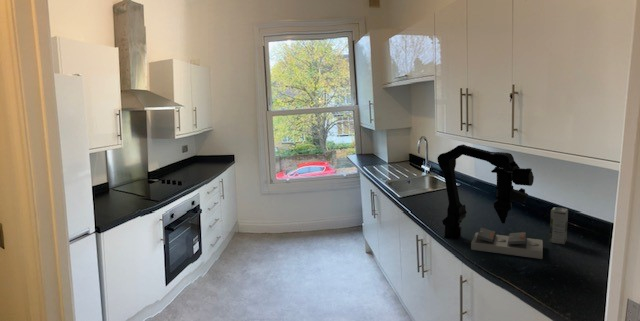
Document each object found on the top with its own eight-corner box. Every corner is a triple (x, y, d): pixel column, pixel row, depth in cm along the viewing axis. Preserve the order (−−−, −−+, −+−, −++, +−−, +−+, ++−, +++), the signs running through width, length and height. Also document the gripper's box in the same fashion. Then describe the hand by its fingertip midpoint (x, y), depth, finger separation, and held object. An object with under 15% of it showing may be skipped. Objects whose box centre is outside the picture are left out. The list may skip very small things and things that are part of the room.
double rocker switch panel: (461, 248, 161) (461, 240, 160) (466, 237, 173) (466, 230, 172) (542, 259, 146) (542, 250, 145) (542, 246, 158) (542, 239, 157)
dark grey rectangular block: (476, 237, 158) (477, 234, 158) (480, 229, 168) (481, 227, 167) (492, 242, 156) (492, 239, 155) (494, 234, 165) (495, 231, 165)
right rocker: (508, 244, 152) (507, 241, 152) (510, 235, 162) (509, 232, 162) (525, 243, 149) (524, 240, 149) (525, 234, 159) (525, 231, 159)
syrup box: (551, 238, 166) (552, 206, 164) (567, 240, 163) (568, 208, 161) (549, 242, 162) (550, 209, 160) (565, 245, 158) (566, 211, 156)
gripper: (525, 189, 143) (525, 228, 145) (527, 180, 158) (527, 216, 160) (493, 187, 148) (493, 225, 150) (498, 179, 164) (498, 213, 166)
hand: (504, 220), depth 157 cm, fingers open, 9 cm apart
